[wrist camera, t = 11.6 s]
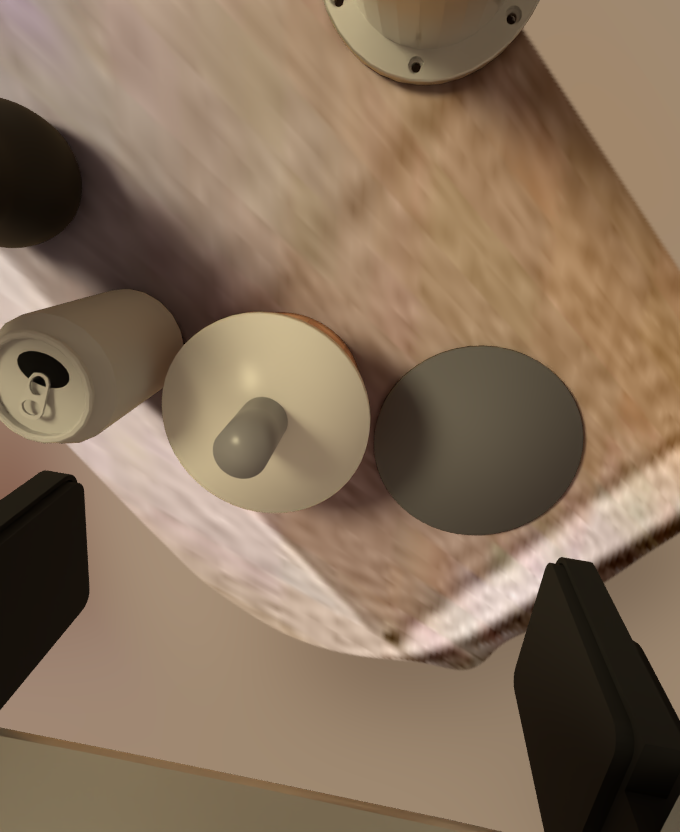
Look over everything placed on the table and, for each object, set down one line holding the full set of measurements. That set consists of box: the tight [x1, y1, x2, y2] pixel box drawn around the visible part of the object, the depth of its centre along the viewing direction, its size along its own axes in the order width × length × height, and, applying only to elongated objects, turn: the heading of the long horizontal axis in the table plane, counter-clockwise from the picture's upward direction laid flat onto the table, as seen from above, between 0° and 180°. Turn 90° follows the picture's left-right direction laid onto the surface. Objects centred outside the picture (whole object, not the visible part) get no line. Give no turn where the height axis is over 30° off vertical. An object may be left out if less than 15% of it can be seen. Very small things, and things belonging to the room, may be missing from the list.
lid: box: [162, 311, 371, 513], centre depth 32 cm, size 13×13×6 cm
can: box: [0, 289, 183, 444], centre depth 35 cm, size 8×8×12 cm
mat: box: [374, 346, 583, 535], centre depth 40 cm, size 14×14×1 cm
